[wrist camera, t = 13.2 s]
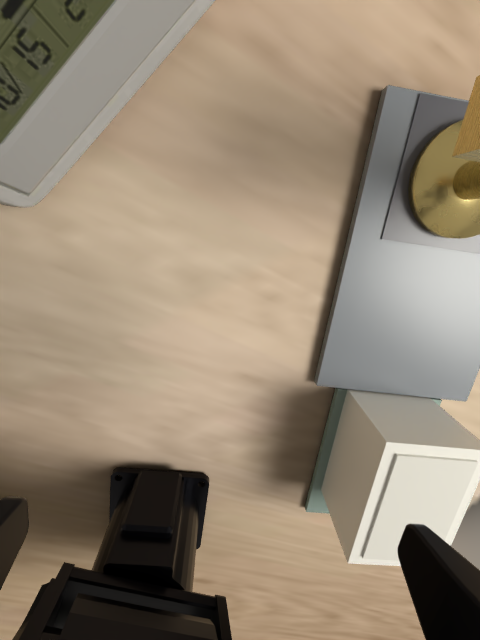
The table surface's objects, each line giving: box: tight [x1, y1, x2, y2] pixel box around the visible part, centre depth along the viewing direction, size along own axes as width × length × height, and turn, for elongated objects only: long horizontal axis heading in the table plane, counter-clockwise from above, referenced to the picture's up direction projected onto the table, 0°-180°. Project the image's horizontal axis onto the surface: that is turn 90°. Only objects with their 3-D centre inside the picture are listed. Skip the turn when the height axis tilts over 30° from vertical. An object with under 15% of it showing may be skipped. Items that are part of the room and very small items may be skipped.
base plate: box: [314, 85, 480, 401], centre depth 18 cm, size 16×10×1 cm, turn 172°
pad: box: [305, 388, 442, 513], centre depth 22 cm, size 10×7×1 cm
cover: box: [321, 389, 480, 566], centre depth 19 cm, size 8×6×5 cm
